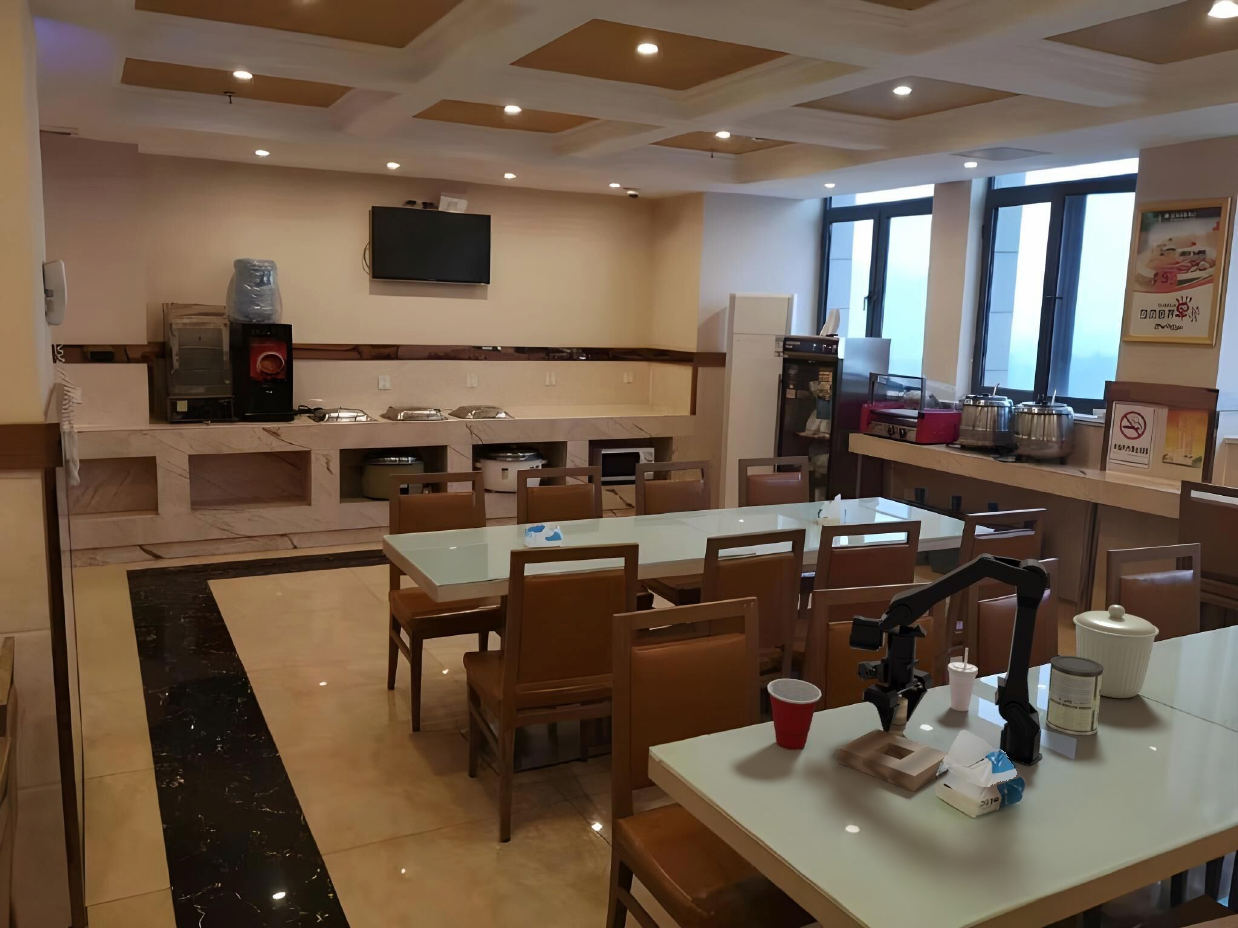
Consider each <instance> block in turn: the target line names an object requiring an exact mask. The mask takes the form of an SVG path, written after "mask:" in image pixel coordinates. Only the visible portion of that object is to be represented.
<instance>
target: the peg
mask: <svg viewBox="0 0 1238 928" xmlns="http://www.w3.org/2000/svg"><path fill="white" fill-rule="evenodd" d="M897 703H898V704H900V706H899V709H898V711H897V714H896V716H895V719H894V721H893V724H892V726H891V728H890V731H889V732H888V733H891V734H894V735H897V736H900V737H903V738H904V731H905V730H906V729H907V723H908V722H907V721H906V717H907V703H908V700H907V699H906V698H904V697H902V696H900V695H899V700H898V702H897Z"/></svg>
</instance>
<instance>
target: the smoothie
mask: <svg viewBox="0 0 1238 928" xmlns="http://www.w3.org/2000/svg"><path fill="white" fill-rule="evenodd" d="M968 653H969V647H965V651H964V660H963V661H964V662H956V661H955V662H950V663H949V664H947V671H948V675H949V693H950V694H949V695H950V708H951V709H952V710H954V711H958V712H967V711H969V708H970V704H971V700H972V695H973V690H974V685H975V681H976V676H977V675H978V674H979V673H978V669H979V668H978V667H977V666H975V665H974V664H970V663H968V657H969V656H968Z"/></svg>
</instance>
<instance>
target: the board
mask: <svg viewBox="0 0 1238 928" xmlns="http://www.w3.org/2000/svg"><path fill="white" fill-rule="evenodd" d="M947 753H948V752H945V751H943V750H940V749H937V748H934V747H931V746H928V745H925V744H922V743H919V742H917V741H914V740H911V739H908V738H905V737H904V736H903V737H900V736H897V735H894V734H891V733H888V732H885V731H883V729H880V728H875V729H873V730H871V731H869V732H867V733H865V734H864V735H861V736H860V737H857V738H855V739H853V740H852V741H849V742H848V743H846V744H843V745H841V746H840V747H838V759H837V763H839V764H840V765H844V766H846V767H849V768H851V769H854V770H856V771H859V772H862V773H865V774H867V775H869V776H872V777H874V778H877V779H880V780H882V781H885V782H888V783H890V784H893V785H895V786H897V787H900V788H902V789H906V790H908V791H910V792H915V791H917V790H918V789H920V788H922V787H923V786H924V785H926V784H928V783H930V782H931V781H933V780H934V779H935V777H936V773H937V770H938V769H939V766H940V763H941V762H942V760H943V759H944V757H945V756H946V755H947ZM936 778H937V777H936Z"/></svg>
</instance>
